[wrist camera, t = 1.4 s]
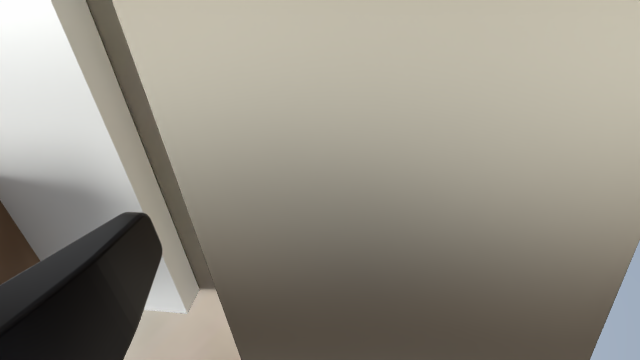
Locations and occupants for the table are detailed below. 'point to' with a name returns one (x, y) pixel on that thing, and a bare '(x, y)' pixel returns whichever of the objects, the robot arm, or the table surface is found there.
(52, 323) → the robot arm
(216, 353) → the table surface
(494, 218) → the maple beam block
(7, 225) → the walnut posts
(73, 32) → the grey base board
